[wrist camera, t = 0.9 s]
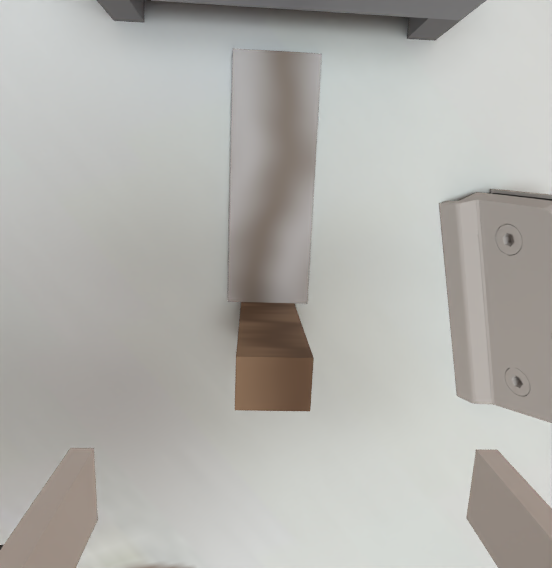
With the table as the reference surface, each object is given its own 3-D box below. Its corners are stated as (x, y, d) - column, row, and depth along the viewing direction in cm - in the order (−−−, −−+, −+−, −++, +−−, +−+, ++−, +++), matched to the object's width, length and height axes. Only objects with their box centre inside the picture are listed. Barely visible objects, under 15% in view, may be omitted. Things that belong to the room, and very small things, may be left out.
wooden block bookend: (227, 336, 36) (215, 409, 24) (233, 51, 32) (222, -26, 20) (304, 337, 36) (328, 411, 25) (319, 56, 32) (359, -17, 20)
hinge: (438, 198, 34) (566, 192, 25) (486, 187, 36) (622, 178, 27) (457, 400, 38) (574, 459, 29) (499, 382, 40) (623, 433, 31)
